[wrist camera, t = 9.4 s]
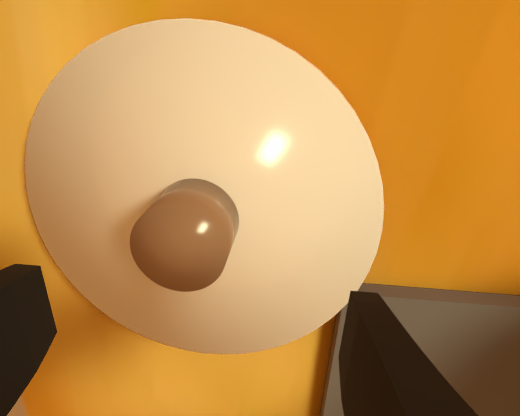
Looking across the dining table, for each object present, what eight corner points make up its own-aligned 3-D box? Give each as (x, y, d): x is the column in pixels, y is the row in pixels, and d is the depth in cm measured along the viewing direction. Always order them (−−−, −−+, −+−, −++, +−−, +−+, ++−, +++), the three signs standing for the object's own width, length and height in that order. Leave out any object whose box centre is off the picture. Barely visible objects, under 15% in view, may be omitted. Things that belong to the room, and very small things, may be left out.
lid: (450, 91, 16) (487, 111, 12) (310, 378, 23) (309, 439, 20) (40, -38, 16) (-38, -55, 12) (32, 292, 23) (-18, 338, 20)
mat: (632, 304, 21) (647, 317, 20) (530, 473, 27) (538, 489, 26) (342, 281, 21) (344, 293, 20) (313, 452, 28) (314, 466, 27)
